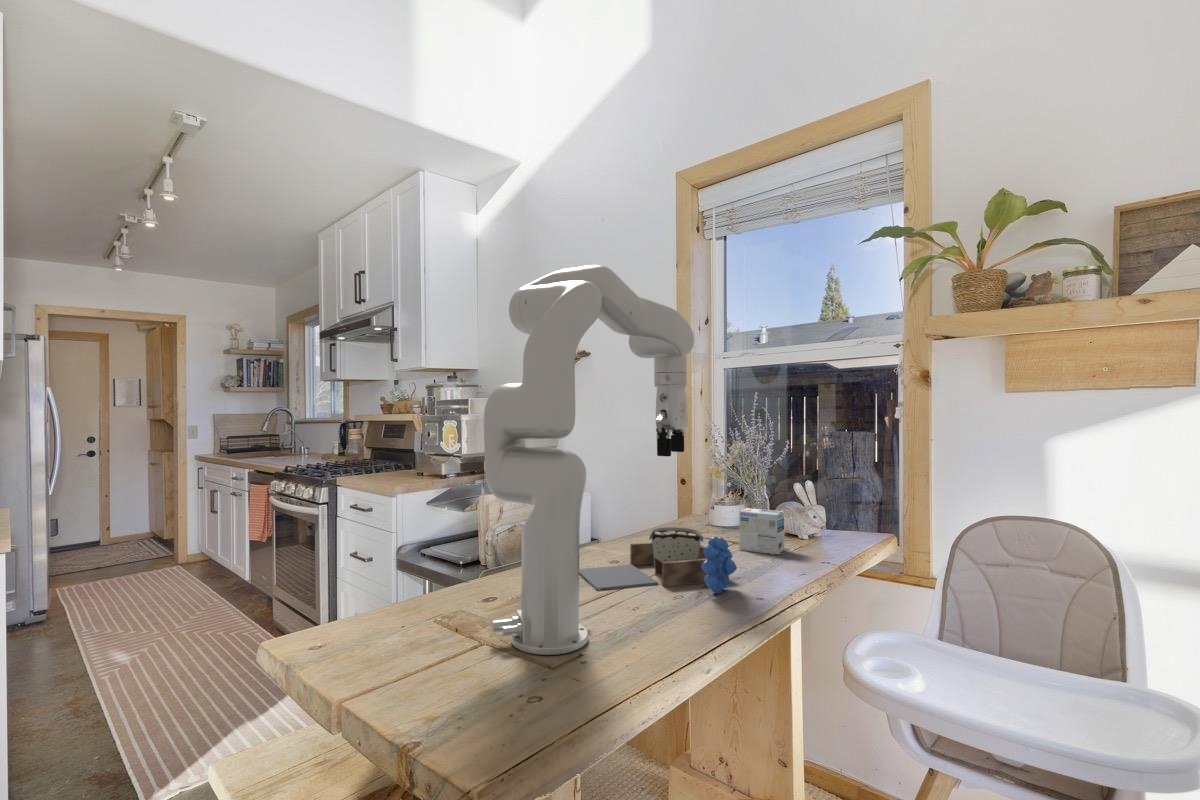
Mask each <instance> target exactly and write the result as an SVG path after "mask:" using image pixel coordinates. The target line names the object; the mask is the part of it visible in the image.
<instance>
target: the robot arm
mask: <svg viewBox="0 0 1200 800" xmlns="http://www.w3.org/2000/svg"><path fill="white" fill-rule="evenodd" d="M508 315H509V319H510V322H511V323H512V325H513V327H515V329H517V330H518V331H519V332H521V333H523V334H525V335H529V336H528V338H527V341H526V343H525V345H524V350H523V355H522V357H523V358H522V359H523V360H522V361H523V362H522V381H521V382H512V383H509V382H508V383H505V384H501V385H498V386H497V387H496V388H495V389H493V391H492V392H491V393H490V394H489V396H488V398H487V400H486V403H485V406H484V410H483V446H484V473H485V480H486V485H487V486H488V490H489V491H490V493H491V494H492V495H493V496H494V497H495V498H497V499H499V500H501V501H506V502H511V503H519V504H520V503H521V504H527V505H533V508H532V511H531V512H530V514H529V516H528V517H527V519H526V521H525V523H524V525H523V528H522V532H521V533H522V534H521V587H520V588H521V589H520V590H521V591H520V595H521V596H520V597H521V599H520V602H521V603H520V609H516V615H513V616H510V618H506V619H504V618H499V619H492V620H491V631H492V633H499V632H501V635H502V636H503V637H505V636H511V637H510V638H511V639H510V640H511V643H512V645H513V647H515V648H516V649H518V650H520V651H521V652H525V653H529V654H532V655H540V656H541V655H542V656H543V655H544V656H553V655H554V656H555V655H563V654H567V653H571V652H574V651H577V650H579V649H582V647H584V646H585V645H586V644H587V643H588V640H589V632H588V630H587V628H586V627H584V626H583V625H582V624H581V623H580V575H579V569H580V540H581V539H580V531H581V529H580V528H581V527H580V526H581V525H580V524H581V516H582V515H581V514H582V513H581V512H582V506H583V499H584V496H585V495H584V493H585V489H586V483H587V470H586V466H585V463H584V461H583V459H582V458H581V457H580V456H579V455H578V454H577V453H575V452H573V451H572V450H567V449H564V448H556V447H541V446H540V447H538V446H526V440H536V441H537V440H539V441H540V440H541V441H543V440H546V441H547V440H548V441H550V440H552V441H556V440H561V439H565V438H566V437H568V436H569V435H570V434H571V433H572V432H573V430H574V427H575V425H576V424H575V423H576V377H575V376H576V374H575V373H576V372H575V368H576V367H575V366H576V365H575V363H576V362H575V361H576V353H577V349H578V347H579V344H580V342H581V340H582V339H583V337H584V335H586V333H587V332H588V330H589V329H590V328H591V327H592V325H594V324H595V322H596V320H597V319H598V320H599V321H601V322H602V323H603V324H604V325H606V326H607V327H608V328H609V329H611V330H612V331H614V332H615V333H618V334H621V335H627V336H628V346H629V349H630V351H631V352H632V354H633V355H635V356H636V357H639V358H640V359H641V358H643V359H653V371H654V372H653V373H654V374H653V377H654V379H653V380H654V382H653V383H654V387H655V388H656V396H655V397H656V398H655V425H656V426H655V427H656V428H655V431H656V435H655V436H656V455H657V457H671V456H672V453H684V451H685V428H687V427H688V403H687V402H688V401H687V393H686V387H688V385H687V384H688V380H687V379H688V376H687V372H688V371H687V365H688V364H687V361H688V360H687V358H688V357H687V355H689V354H690V353H691V351H692V350H693V348H694V346H695V345H694V344H695V336H694V330H693V329H692V327H691V325H690V324H689V322H688V320H687V319H686V318H685V317H684V316H683V315H682V314H681V313H679V311H677V310H676V309H673V308H672V307H669V306H666V305H664V304H661V303H658V302H655V301H652V300H649V299H646V298H643V297H641V296H639V295H637V294H636V292H634V290H632V289H631V288H630V286H628V285H627V284H626V283H625V282H624V281H623V280H622V279H621V277H620V276H618V275H617V273H616V272H614V271H613V270H612V269H611V268H609V267H608V266H605V265H601V264H591V265H590V264H589V265H583V266H578V267H577V266H576V267H569V268H568V267H567V268H563V269H560V270H556V271H553V272H551V273H549V274H546V275H544V276H542V277H540V278H538V279H536V280H533V281H531V282H530V283H528V284H525V285H523V286H521V287H520V288H518V289H517V290H516V291H515V292H514V293H513V295H512V296H511V299H510V301H509V305H508ZM671 433H672V434H671Z"/></svg>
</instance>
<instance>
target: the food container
mask: <svg viewBox="0 0 1200 800" xmlns="http://www.w3.org/2000/svg"><path fill="white" fill-rule="evenodd" d="M648 540H649V541H651V542H652V546H653V557H654V563H653V565H654V574H655V576H662V562H672V561H683V560H694V559H698V558H699V549H700V545H701V543H703V542H704V538H703V535H702V532H701V531H700V530H697V529H695V528H687V527H677V526H672V527H671V526H667V527H658V528H654V529H652V530H651V532H650V534H649V539H648Z"/></svg>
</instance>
